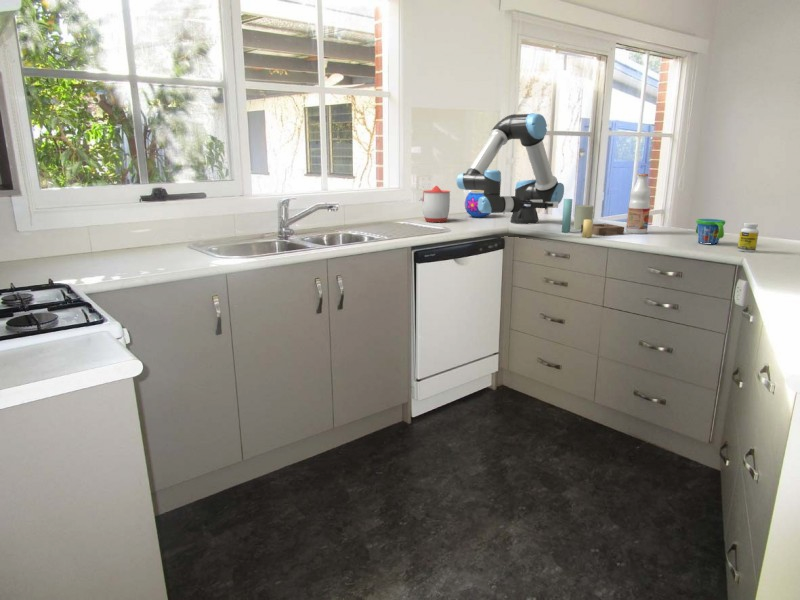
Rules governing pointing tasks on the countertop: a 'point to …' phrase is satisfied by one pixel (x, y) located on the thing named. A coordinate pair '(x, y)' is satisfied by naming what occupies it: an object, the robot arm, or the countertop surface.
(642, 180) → the fruit juice
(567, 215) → the tall dowel
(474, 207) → the ceramic pot
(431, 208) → the citrus juicer
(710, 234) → the snack cup
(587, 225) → the short dowel
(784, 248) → the countertop surface
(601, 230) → the walnut block
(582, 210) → the can
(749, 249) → the pill bottle
